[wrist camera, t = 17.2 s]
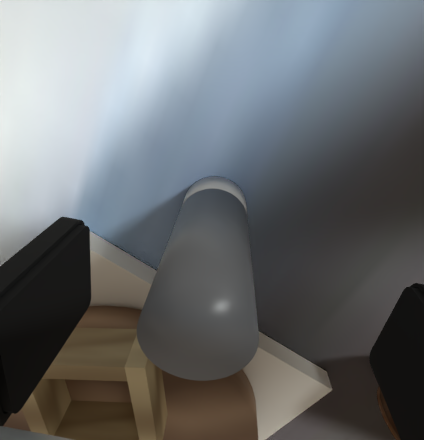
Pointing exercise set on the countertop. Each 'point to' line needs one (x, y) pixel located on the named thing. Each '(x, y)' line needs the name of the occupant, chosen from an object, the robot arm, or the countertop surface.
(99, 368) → the dial
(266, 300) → the countertop surface
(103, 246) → the dial base
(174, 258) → the grey rounded cylinder
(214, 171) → the countertop surface
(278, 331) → the countertop surface
